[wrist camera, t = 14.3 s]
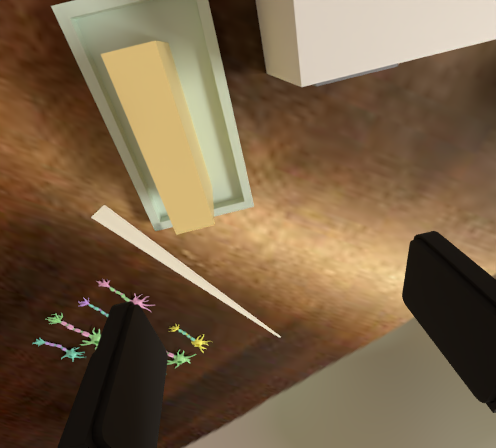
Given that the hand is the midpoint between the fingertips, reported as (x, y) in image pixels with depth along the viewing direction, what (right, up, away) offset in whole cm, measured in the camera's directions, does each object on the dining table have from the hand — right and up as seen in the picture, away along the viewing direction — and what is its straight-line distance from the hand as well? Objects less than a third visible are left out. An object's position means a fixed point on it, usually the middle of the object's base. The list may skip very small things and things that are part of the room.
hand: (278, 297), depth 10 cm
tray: (-7, +11, +15) cm, 20 cm away
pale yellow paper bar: (-7, +11, +14) cm, 19 cm away
